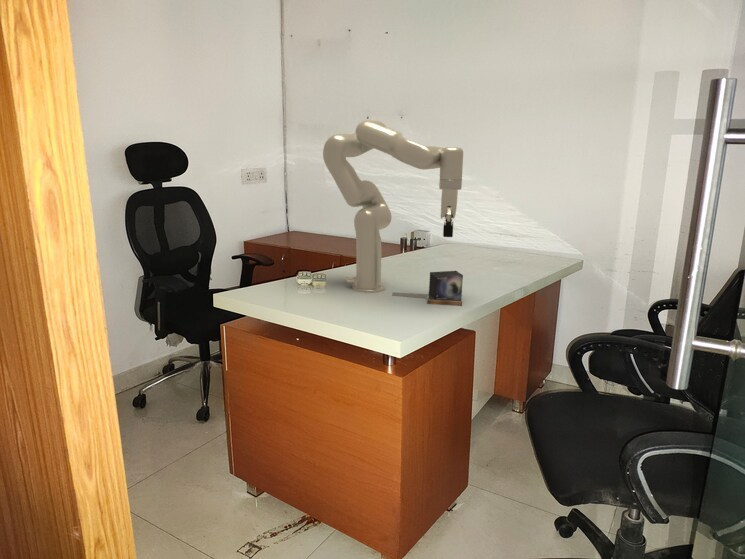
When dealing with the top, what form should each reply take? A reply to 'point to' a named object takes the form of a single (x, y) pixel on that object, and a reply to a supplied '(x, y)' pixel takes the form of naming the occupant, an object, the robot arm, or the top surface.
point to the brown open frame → (444, 302)
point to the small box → (445, 286)
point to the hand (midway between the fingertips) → (448, 234)
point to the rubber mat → (410, 295)
